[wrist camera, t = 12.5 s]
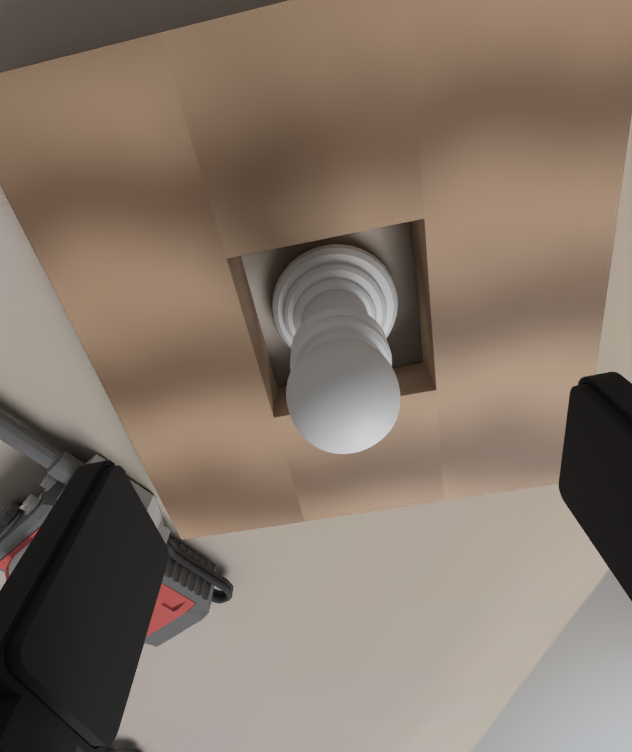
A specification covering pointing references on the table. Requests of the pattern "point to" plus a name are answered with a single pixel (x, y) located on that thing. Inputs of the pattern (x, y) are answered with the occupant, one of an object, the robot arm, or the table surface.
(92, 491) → the robot arm
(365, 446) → the chess piece
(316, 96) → the socket holder
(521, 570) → the table surface
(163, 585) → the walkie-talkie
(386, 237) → the table surface
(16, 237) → the table surface
